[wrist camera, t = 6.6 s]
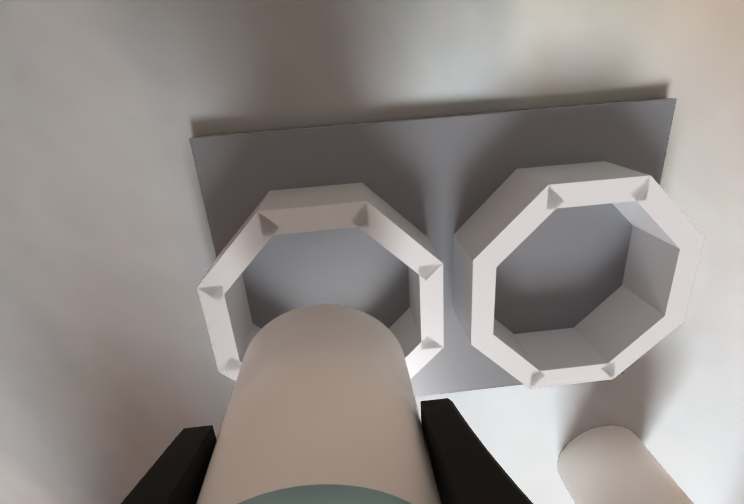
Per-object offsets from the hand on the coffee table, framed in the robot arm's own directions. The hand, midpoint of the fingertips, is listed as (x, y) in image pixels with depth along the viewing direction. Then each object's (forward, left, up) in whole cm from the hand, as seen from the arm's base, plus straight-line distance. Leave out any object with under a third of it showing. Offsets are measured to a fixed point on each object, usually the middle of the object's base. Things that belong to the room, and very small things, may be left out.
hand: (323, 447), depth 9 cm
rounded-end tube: (+13, -12, -8) cm, 20 cm away
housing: (+5, 0, -8) cm, 10 cm away
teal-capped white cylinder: (0, 0, -2) cm, 2 cm away
